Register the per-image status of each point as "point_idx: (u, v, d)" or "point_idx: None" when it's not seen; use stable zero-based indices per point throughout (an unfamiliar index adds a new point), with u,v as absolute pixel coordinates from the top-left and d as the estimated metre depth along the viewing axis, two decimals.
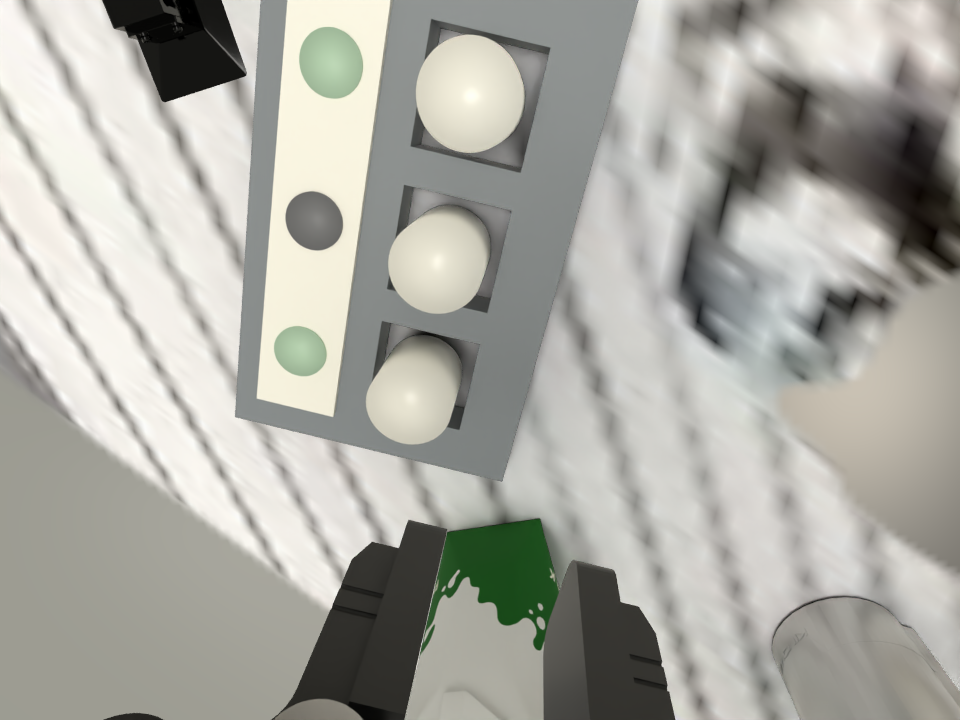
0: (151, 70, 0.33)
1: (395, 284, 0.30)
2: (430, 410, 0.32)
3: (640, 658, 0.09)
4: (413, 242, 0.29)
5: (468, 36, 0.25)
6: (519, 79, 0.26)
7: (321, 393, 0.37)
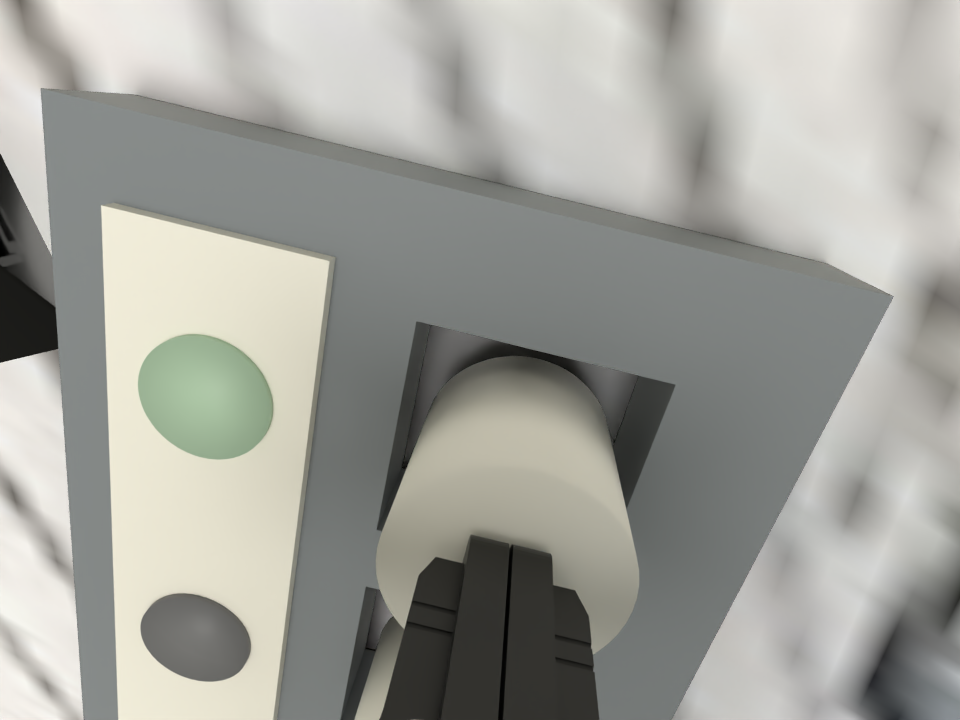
0: None
1: None
2: None
3: (569, 640, 0.09)
4: None
5: (506, 471, 0.10)
6: (632, 558, 0.10)
7: None
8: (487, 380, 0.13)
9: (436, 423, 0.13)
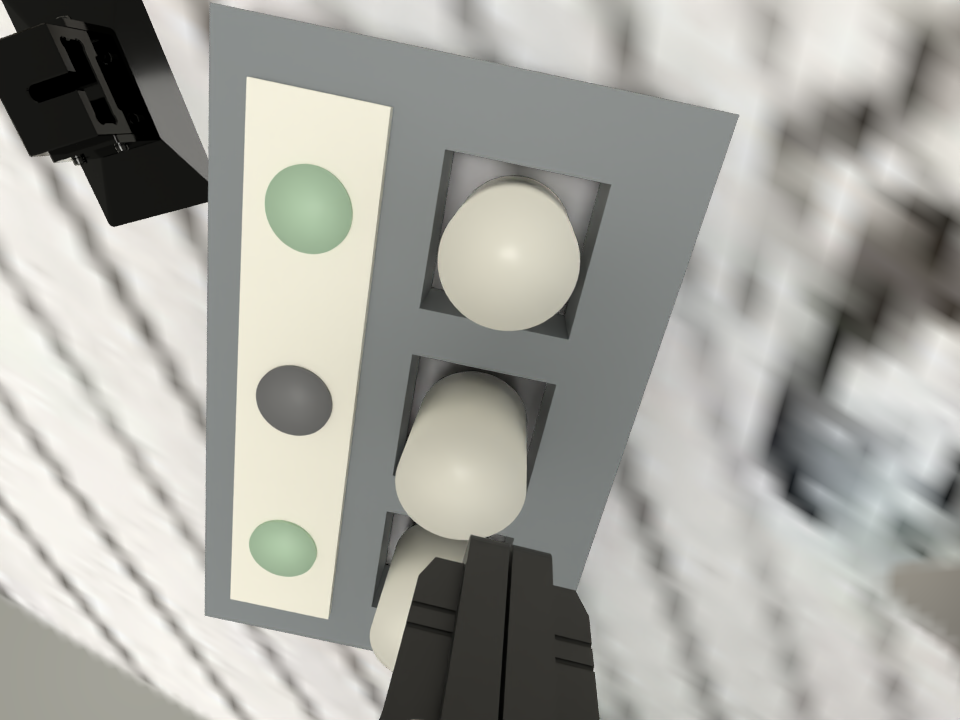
0: (94, 189, 0.25)
1: (405, 506, 0.22)
2: None
3: (569, 640, 0.09)
4: (429, 457, 0.21)
5: (507, 192, 0.19)
6: (575, 244, 0.19)
7: (312, 593, 0.29)
8: (494, 181, 0.22)
9: (465, 201, 0.22)
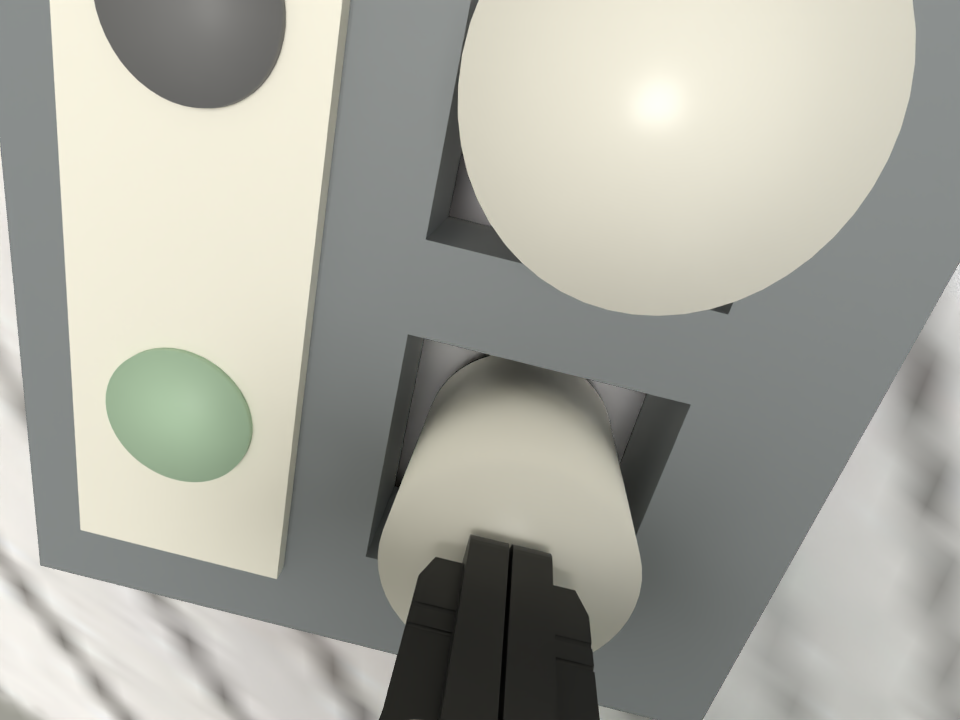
0: None
1: (485, 188, 0.07)
2: (574, 588, 0.11)
3: (570, 640, 0.09)
4: None
5: None
6: None
7: (244, 523, 0.14)
8: None
9: None
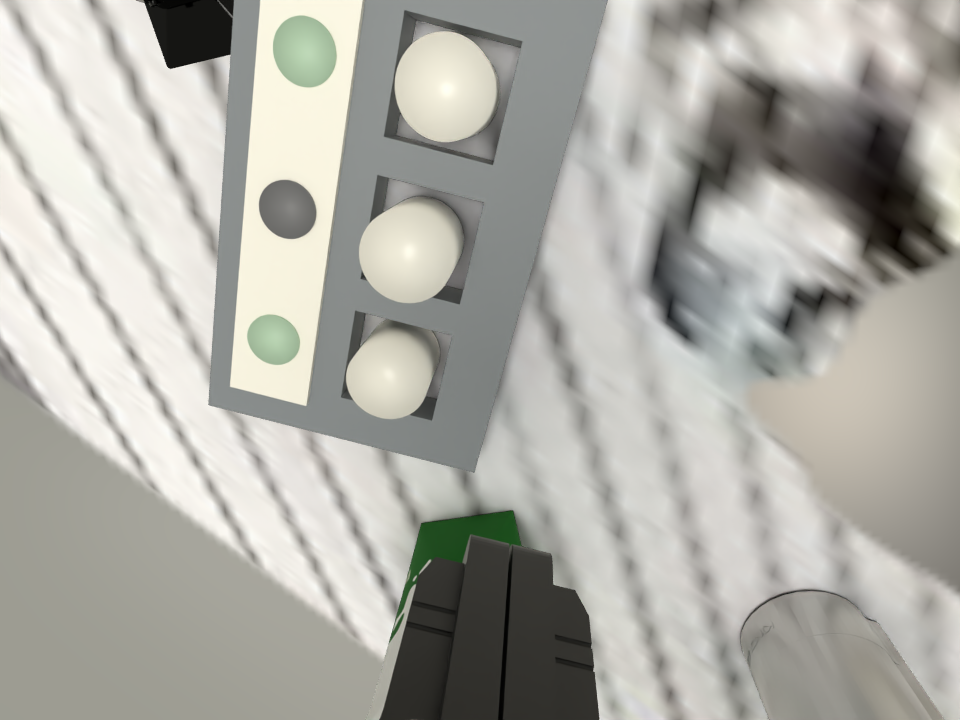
0: (157, 36, 0.33)
1: (366, 273, 0.30)
2: (407, 386, 0.34)
3: (569, 640, 0.09)
4: (383, 232, 0.29)
5: (443, 32, 0.27)
6: (491, 74, 0.27)
7: (294, 382, 0.37)
8: None
9: None
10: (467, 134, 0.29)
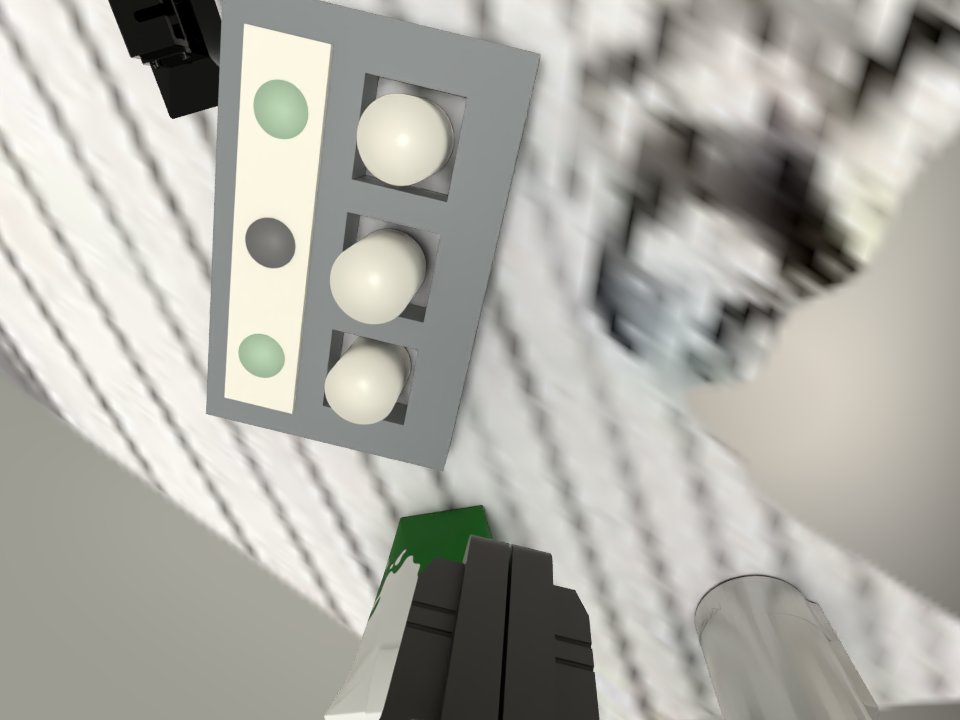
0: (161, 90, 0.38)
1: (336, 299, 0.34)
2: (378, 395, 0.39)
3: (569, 640, 0.09)
4: (350, 264, 0.34)
5: (396, 95, 0.32)
6: (438, 128, 0.32)
7: (281, 392, 0.41)
8: None
9: None
10: (420, 179, 0.33)
